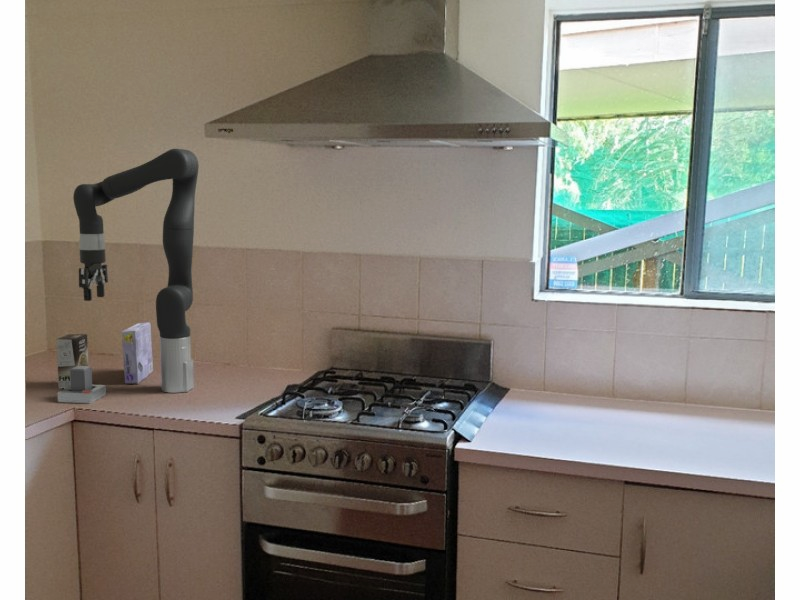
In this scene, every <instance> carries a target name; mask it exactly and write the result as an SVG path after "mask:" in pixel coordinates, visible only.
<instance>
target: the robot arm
mask: <svg viewBox="0 0 800 600" xmlns="http://www.w3.org/2000/svg"><path fill="white" fill-rule="evenodd" d="M198 174H199V160H198V158H197V156H196V155H195V153H194V152H192V151H191V150H188V149H184V148H171V149H168V150H167V151H165V152H163V153H161V154H160V155H158V156H156V157H154V158H153V159H151V160H149V161H147V162H145V163H143V164H141V165H138V166H136V167H135V166H134V167H132V168H130V169H127V170H124V171H121V172H120V171H119V172H118V173H114V174H112V175H109V176H107V177H105V178H104V179H103V180H102V181H99V182H98V183H96V182H95V183H82V184H79V185H78V186H76V188H75V189H74V191H73V199H72V200H73V204H74V208H75V213H76V214H77V218H78V222H79V224H78V225H79V240H78V242H79V243H78V245H79V262H80V263H81V264H84V266H83V268H82V267H80V268H78V287H79V288H81V289H82V290H83V300H84V301H85V302H91V301H92V298H93V297H92V287H93V284H94V283H96V296H97V298H104V297H105V285H106V283H108V282H109V279H108V278H109V277H108V276H109V275H108V265H107V264H105V263H106V239H105V234H104V219H103V217H102V216H101V215H99V214H98V212H97V208H96V207H100V206H103V205H105V204H109V203H110V202H112V201H113V200H116V199H119V198H122V197H126V196H127V195H130V194H133V193H135V192H138V191H140V190H141V189H143V188H144V187H146V186H148V185H150V184H153V183H157V182H160V181H166V180H172V191H171V196H170V197H171V199H170V202H169V204H168V206H167V209H166V212H165V214H164V217H163V221H162V222H163V223H162V246H163V251H164V254H165V257H166V260H167V265H168V280H167V286H166V287H164V288H162V289H160V291H158V293H157V295H156V299H155V315H156V325H157V326H156V327H157V330H158V332H159V341H160V342H159V345H160V346H159V347H160V348H159V350H160V353H159V354H160V380H161V381H160V383H161V391H163V392H165V393H172V394H173V393H176V394H177V393H188V392H190V391H191V390H192V389H194V387H195V380H194V378H195V377H194V375H195V374H194V358H192V349H191V348H192V347H191V344H192V343H191V342H192V341H191V328H190V326H189V325H188V324H187V320H186V312H187V311H188V310H190V308H191V306H192V305H193V302H194V294H193V293H194V292H193V279H192V278H193V277H192V273H193V272H192V269H193V268H192V266H193V264H192V263H193V249H194V248H193V247H194V233H195V231H194V230H195V196H196V188H197V181H198Z"/></svg>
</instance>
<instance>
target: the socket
mask: <svg viewBox="0 0 800 600" xmlns="http://www.w3.org/2000/svg"><path fill="white" fill-rule="evenodd" d="M106 395H107V386H106V384H92V389H91V390H83V391H82V392H79V391H71V386H69V387H67V388H65V389H62V390H61V389H60V391H58V392H57V402H58V403H68V404H71V403H73V404H92V403H93V402H95V401H98V400H99V399H101V398H103V397H105V396H106Z"/></svg>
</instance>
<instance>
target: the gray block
mask: <svg viewBox="0 0 800 600" xmlns="http://www.w3.org/2000/svg"><path fill="white" fill-rule="evenodd" d="M92 371H93V370H92V367H91V366H89V365H88V366H77V367H74V368H72V370H70V377H71V391H79V392H82V391H83V390H91V389H92V385H93V375H92V373H93V372H92Z"/></svg>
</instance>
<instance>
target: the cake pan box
mask: <svg viewBox="0 0 800 600" xmlns="http://www.w3.org/2000/svg"><path fill="white" fill-rule="evenodd" d="M151 328H152V327H151V322H138V323H135V324H134V325H132V326H130V327H128V328H126V329H124V330H122V331H121V339H122V340H121V342H122V343H121V344H122V345H121V346H122V358H123V370H124V371H123V373H124V384H129V385H130V384H133V385H134V384H136V385H139V384H140V383H141V382H142V381H144V380H145V379H147V377H148V376H149V375H150V374H152V373H153V372H154V364H153V363H154V362H153V348H152V345H153V344H152V332H151V331H152V329H151Z"/></svg>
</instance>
